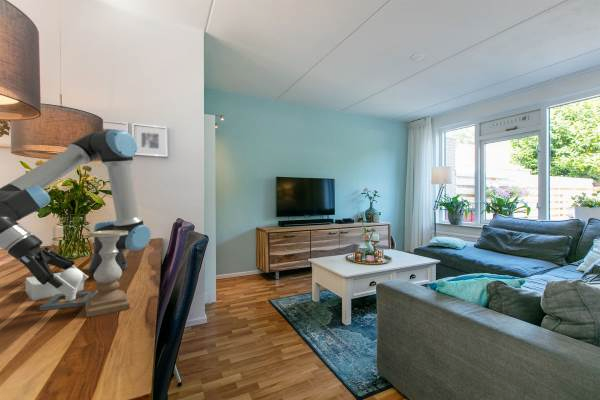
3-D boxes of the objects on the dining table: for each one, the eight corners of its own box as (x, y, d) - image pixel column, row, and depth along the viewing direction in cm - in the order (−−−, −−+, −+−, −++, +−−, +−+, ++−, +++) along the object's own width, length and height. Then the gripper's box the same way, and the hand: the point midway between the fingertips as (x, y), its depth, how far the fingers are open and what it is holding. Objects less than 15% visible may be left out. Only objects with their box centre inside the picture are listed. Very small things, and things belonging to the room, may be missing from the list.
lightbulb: (68, 306, 86) (69, 271, 86) (53, 304, 87) (53, 269, 87) (87, 299, 91) (88, 266, 92) (72, 297, 93) (73, 265, 93)
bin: (73, 283, 108) (73, 270, 108) (83, 290, 100) (83, 277, 100) (25, 291, 98) (25, 277, 98) (32, 300, 89) (32, 285, 89)
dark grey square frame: (55, 298, 92) (55, 294, 92) (96, 293, 97) (96, 290, 97) (39, 310, 82) (39, 306, 82) (86, 305, 86) (86, 301, 86)
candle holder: (84, 306, 86) (86, 231, 86) (125, 298, 93) (127, 229, 93) (85, 318, 77) (88, 234, 77) (130, 308, 84) (132, 232, 84)
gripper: (28, 245, 94) (81, 283, 100) (-20, 260, 71) (51, 308, 77) (48, 229, 96) (98, 268, 102) (8, 239, 74) (75, 288, 80)
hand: (78, 285), depth 90 cm, fingers open, 13 cm apart
